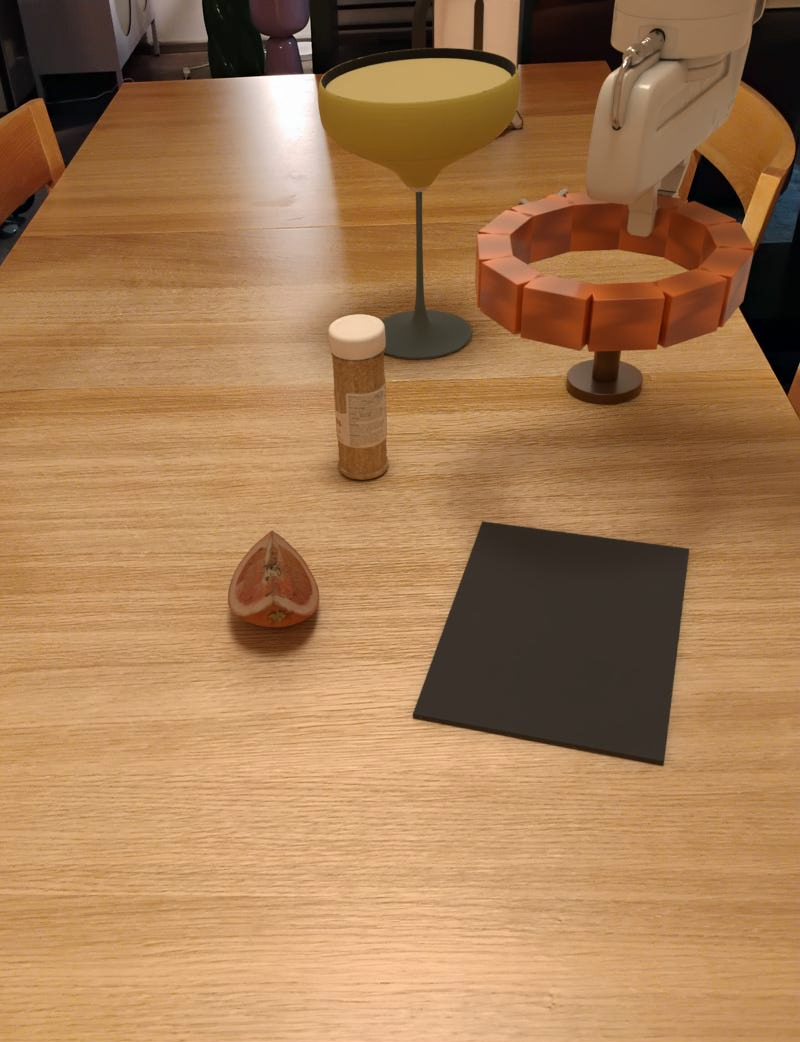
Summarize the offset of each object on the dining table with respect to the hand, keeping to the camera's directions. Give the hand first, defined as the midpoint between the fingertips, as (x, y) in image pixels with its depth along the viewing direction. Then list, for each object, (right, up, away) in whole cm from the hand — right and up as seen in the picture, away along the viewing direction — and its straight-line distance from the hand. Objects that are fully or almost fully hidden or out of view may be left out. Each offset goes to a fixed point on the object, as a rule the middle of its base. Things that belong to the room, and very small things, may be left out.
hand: (651, 223), depth 77 cm
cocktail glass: (-14, +1, +31) cm, 34 cm away
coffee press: (-2, +45, +79) cm, 91 cm away
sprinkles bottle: (-21, -16, +13) cm, 30 cm away
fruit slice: (-28, -30, -1) cm, 41 cm away
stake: (+2, -7, +20) cm, 22 cm away
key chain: (+4, +23, +53) cm, 58 cm away
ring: (-4, -6, -3) cm, 8 cm away
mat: (-8, -31, -4) cm, 32 cm away
